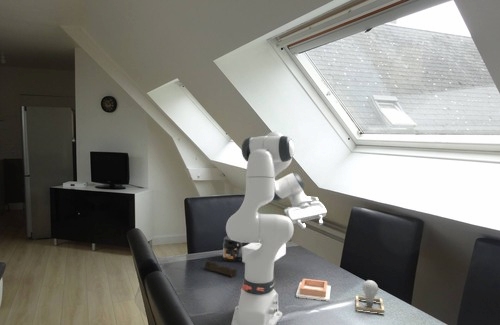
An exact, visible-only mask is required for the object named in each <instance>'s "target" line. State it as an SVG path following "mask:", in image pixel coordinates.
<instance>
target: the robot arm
mask: <svg viewBox="0 0 500 325" xmlns="http://www.w3.org/2000/svg"><path fill="white" fill-rule="evenodd" d="M294 153H295V145H294V141H293V140H292V138H290V136H286V135H283V134H282V133H280V131H271V132H268V133H267V134H266V135H261V136H260V135H259V136H255V137H254V136H252V137H251V136H249V137H247V138H245V139H244V141H242V144H241V155H242V157H243V159H244V160H245V161H246V162H247V164H246V175H245V181H246V182H245V192H244V199H243V202H242V203H241V205H240V207H239V208H238V210H236V211H235V213H234V214H232V215H231V216H230V217H229V218H228V219H227V220H226V225H225V232H226V234H227V235H226V236H228V237H229V238H230V239H231V240H233V241H237V242H241V243H242V244H244V243H245V244H246V243H247V244H250V243H259V239H260V243H261V244H262V245H261V246H260V248H258V249H257V250H255V251H252V252H251V253H249V254H248V255H247V257H246V259H245V263H244V276H243V281H242V287H241V289H240V295H239V296H240V297H239V301H238V302H237V306H235V307H234V311H233V316H232V320H231V325H277V324H278V323H277V322H280V321H281V319H282V318H281V317H283V312H282V311H280V310H279V294H278V293H277V291H276V290H275V284H276V283H275V282H276V281H275V277H274V271H275V270H274V269H275V268H274V267H275V262H276V261H275V257H276V254H277V252H278V251H279V249H280V248H281V247H282V246H283V245H284V244H285V243H286V244H287V243H288V242H289V241H290V240H291V239H292V237H293V235H294V230H295V229H294V228H295V227H294V224H297V225H298V226H300V227H301V229H302V230H303V229H306V228H307V227H306V224H305V223H302V222H307V221H310V220H311V221H312V220H315V219H318V220H319V221H318V224H319V226H321V225H324V221H323V218H324V217H326V216H327V212H328V211H327V208H326V207H325V205H324V204H323V203H322V202H321V201H320V200H319V198H318V197H317V196H310V195H309V196H307V195H306V193H305V192H304V191H305V183H304V181H303V179H302V178H301V176H300V174H298V173H296V172H291V173H289V174H287V175H285V176H283V177H280V178H279V179H276V176H278V175H279V174H280V173H281V172H283V171H284V170H285V169H287V168H288V167H289V165H291V163H292V160H293V157H294ZM284 198H288V199H289V200H290V203H291V206H287V207H285V208H284V210H283V212H284V214H285V215H283V214H276V213H275V214H274V213H259V212H258V211H259V209H260V208H261V207H263V206H265V205H267V204H270V203H271V202H272V201H274V202H280V201H281V200H283V199H284Z"/></svg>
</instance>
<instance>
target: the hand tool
mask: <svg viewBox="0 0 500 325" xmlns="http://www.w3.org/2000/svg"><path fill="white" fill-rule="evenodd" d="M204 266H205V269H206V270H208V271H211V272H217V273H220V274H224V275H226V276H229V277H231V278H234V277H235V276H236V275H237V269H235V268H230V267H228V266H224V265H221V264H217V263H216V262H215V261H212V260H207V261H206V262H205V264H204Z"/></svg>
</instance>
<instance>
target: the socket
mask: <svg viewBox="0 0 500 325" xmlns="http://www.w3.org/2000/svg"><path fill="white" fill-rule="evenodd" d="M331 288H332V286H331V285H328V281H327V280H319V279H311V278H302V281H300V282H299V284H298V287H297V291H296V294H295V298H298V297H299V298H300V299H306V298H307V299H306V300H313V299H316V300H315V301H321V300H326V301H325V302H328V301H329V302H330V297H331V296H330V295H331Z"/></svg>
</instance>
